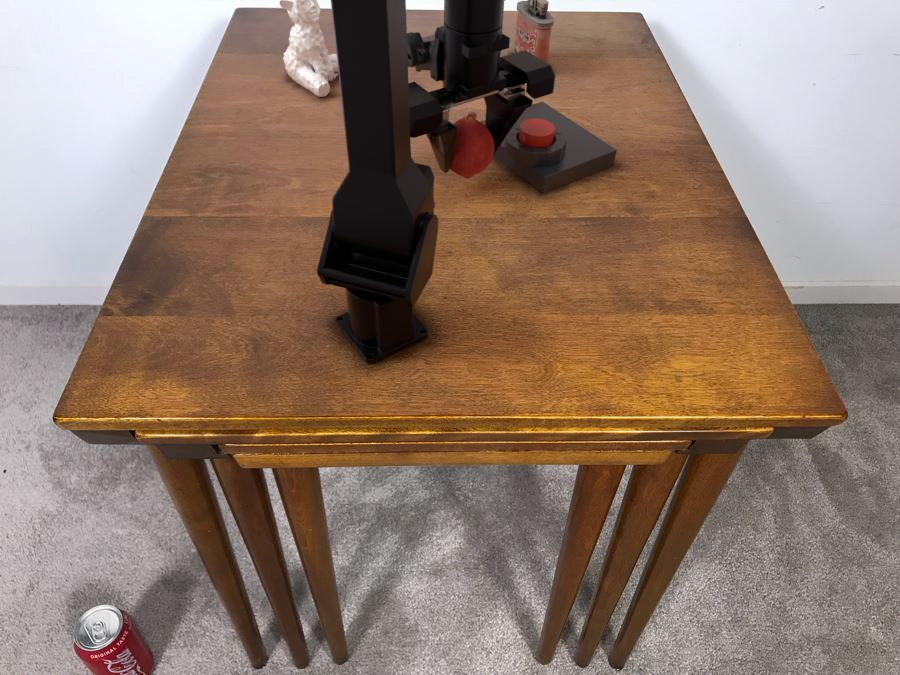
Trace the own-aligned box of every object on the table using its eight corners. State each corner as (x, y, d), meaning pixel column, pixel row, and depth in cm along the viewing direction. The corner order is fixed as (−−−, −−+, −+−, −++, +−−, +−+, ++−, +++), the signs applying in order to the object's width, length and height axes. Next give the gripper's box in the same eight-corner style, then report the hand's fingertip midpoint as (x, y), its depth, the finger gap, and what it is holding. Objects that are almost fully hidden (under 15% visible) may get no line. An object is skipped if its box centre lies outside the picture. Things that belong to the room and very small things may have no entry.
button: (560, 143, 83) (562, 129, 81) (533, 153, 81) (534, 139, 80) (538, 128, 85) (540, 115, 84) (511, 137, 83) (512, 124, 82)
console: (613, 165, 86) (619, 136, 83) (536, 196, 81) (540, 166, 78) (540, 116, 94) (543, 87, 91) (466, 141, 89) (467, 112, 86)
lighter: (552, 73, 103) (561, 1, 96) (531, 77, 102) (539, 5, 95) (528, 50, 108) (535, -20, 101) (507, 53, 107) (513, -17, 100)
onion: (448, 194, 79) (450, 129, 73) (435, 167, 83) (435, 102, 77) (498, 187, 80) (504, 122, 74) (483, 160, 84) (487, 96, 78)
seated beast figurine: (323, 100, 96) (313, 8, 87) (269, 87, 98) (253, -4, 90) (357, 71, 102) (351, -17, 93) (305, 59, 104) (294, -28, 96)
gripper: (500, -22, 77) (491, 111, 89) (348, 13, 70) (359, 154, 81) (567, 13, 71) (548, 152, 82) (407, 56, 63) (410, 202, 75)
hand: (467, 163), depth 80 cm, fingers closed on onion, 6 cm apart
